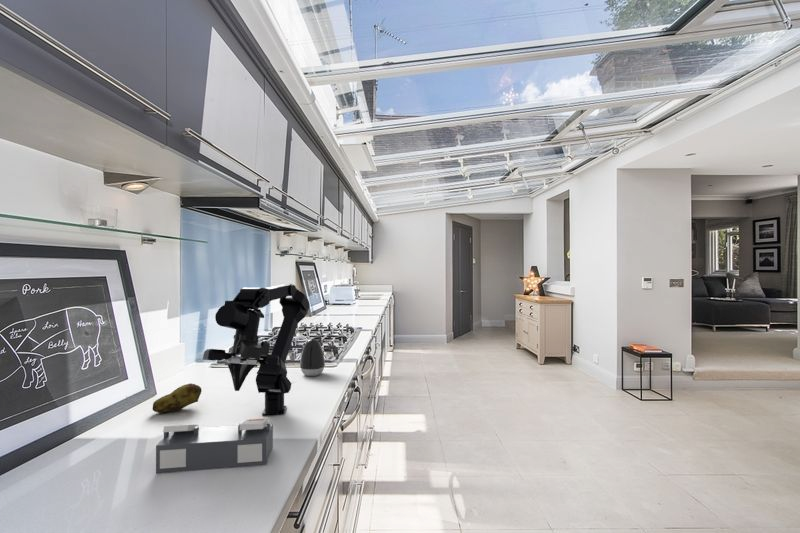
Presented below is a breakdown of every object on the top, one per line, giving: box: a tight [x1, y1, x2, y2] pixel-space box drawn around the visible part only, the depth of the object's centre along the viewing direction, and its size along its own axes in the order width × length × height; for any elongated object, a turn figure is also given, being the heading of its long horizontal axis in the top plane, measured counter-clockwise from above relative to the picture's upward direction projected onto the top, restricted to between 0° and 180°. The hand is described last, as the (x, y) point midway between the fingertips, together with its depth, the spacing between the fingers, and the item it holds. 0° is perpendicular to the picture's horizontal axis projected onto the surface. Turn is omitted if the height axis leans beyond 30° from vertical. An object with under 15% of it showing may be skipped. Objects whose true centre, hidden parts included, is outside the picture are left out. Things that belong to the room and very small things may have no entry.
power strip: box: [155, 421, 274, 474], centre depth 91 cm, size 9×23×8 cm, turn 99°
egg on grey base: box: [299, 338, 326, 377], centre depth 165 cm, size 10×10×15 cm
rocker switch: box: [239, 417, 269, 430], centre depth 93 cm, size 7×5×1 cm
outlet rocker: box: [162, 424, 199, 433], centre depth 90 cm, size 7×5×1 cm
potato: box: [152, 383, 202, 414], centre depth 124 cm, size 8×13×8 cm, turn 99°
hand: (236, 390), depth 105 cm, fingers closed
